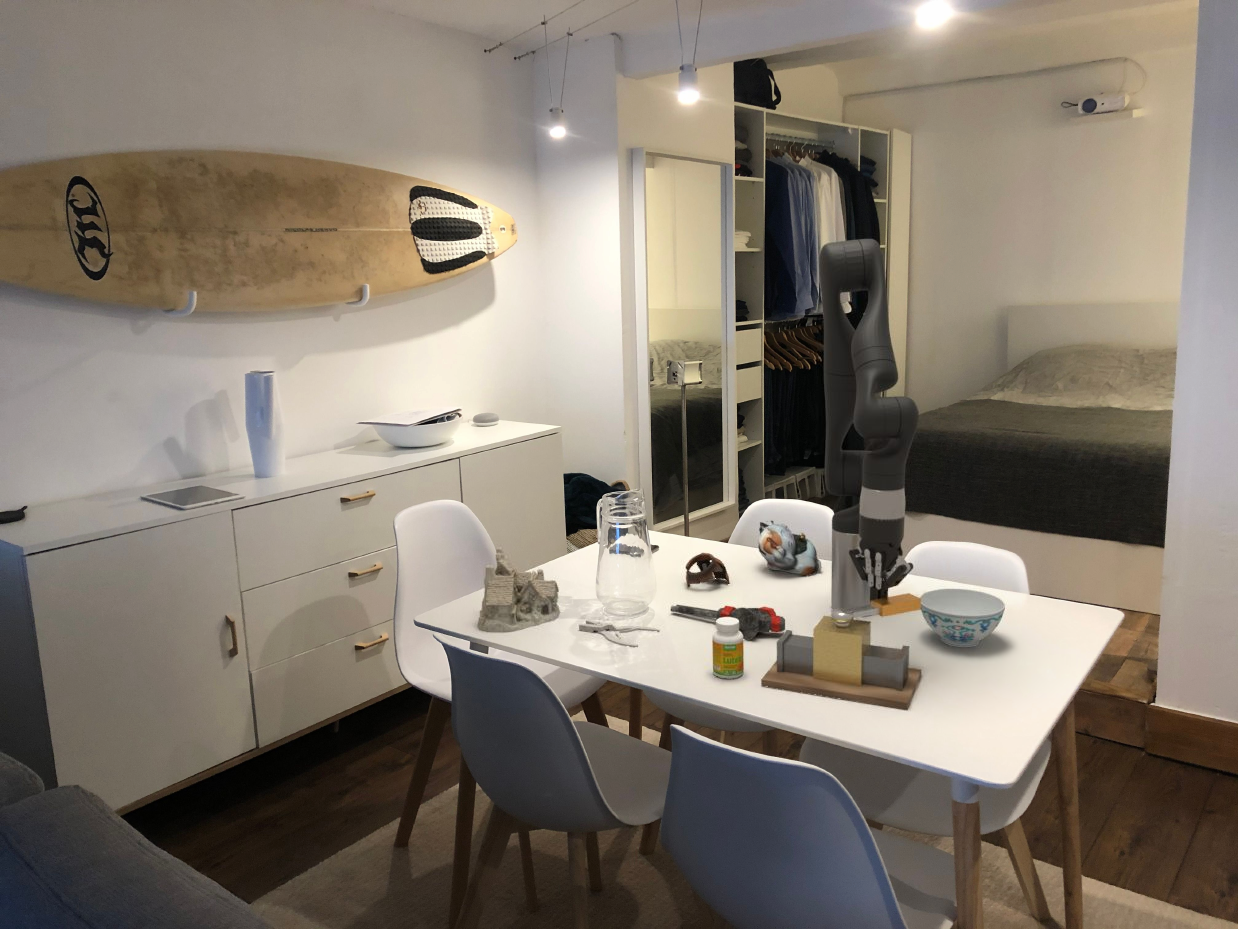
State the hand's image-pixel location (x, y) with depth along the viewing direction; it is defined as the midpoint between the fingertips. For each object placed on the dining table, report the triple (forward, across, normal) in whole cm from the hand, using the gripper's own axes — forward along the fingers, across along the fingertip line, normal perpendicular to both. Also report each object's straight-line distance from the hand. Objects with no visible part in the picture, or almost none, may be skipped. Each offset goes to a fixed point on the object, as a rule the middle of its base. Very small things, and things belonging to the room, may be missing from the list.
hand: (878, 606), depth 166 cm
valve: (+12, +32, +6) cm, 34 cm away
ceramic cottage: (+12, +60, +40) cm, 73 cm away
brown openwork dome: (+12, +54, -5) cm, 55 cm away
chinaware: (+10, -3, -20) cm, 23 cm away
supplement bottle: (+11, +12, +24) cm, 29 cm away
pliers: (+12, +41, +29) cm, 52 cm away
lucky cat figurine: (+12, +49, -26) cm, 57 cm away
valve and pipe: (+10, -2, +11) cm, 15 cm away
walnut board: (+10, -2, +11) cm, 15 cm away
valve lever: (-1, -3, +4) cm, 5 cm away
